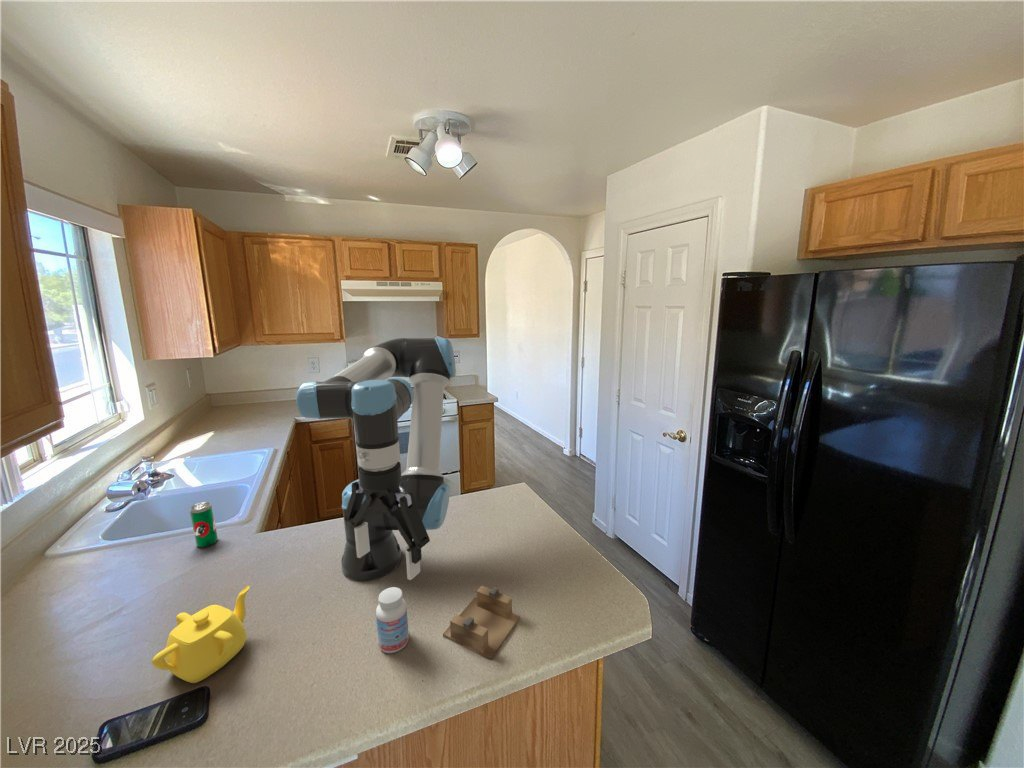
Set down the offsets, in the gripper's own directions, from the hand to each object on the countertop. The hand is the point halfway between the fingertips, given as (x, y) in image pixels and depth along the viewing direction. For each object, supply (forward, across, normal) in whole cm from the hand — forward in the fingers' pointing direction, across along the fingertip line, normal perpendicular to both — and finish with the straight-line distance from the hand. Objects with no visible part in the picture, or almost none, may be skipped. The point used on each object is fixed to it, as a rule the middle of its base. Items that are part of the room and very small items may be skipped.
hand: (387, 564), depth 80 cm
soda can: (+18, -73, -1) cm, 75 cm away
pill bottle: (+18, 0, 0) cm, 19 cm away
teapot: (+19, -29, -20) cm, 40 cm away
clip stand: (+18, +14, +12) cm, 26 cm away
